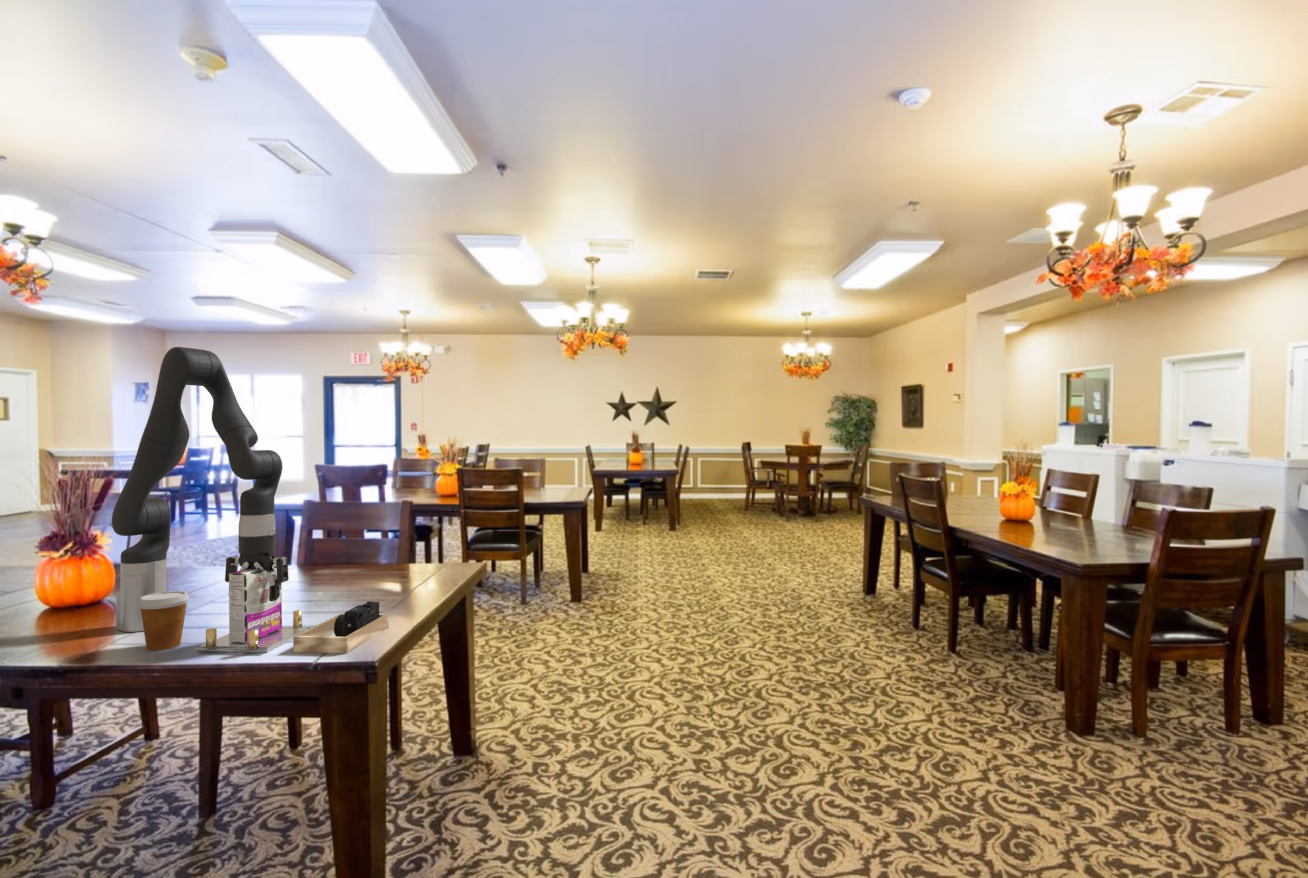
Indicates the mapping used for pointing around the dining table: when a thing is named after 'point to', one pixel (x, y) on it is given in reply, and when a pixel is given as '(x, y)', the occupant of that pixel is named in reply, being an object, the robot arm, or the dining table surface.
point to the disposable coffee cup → (163, 619)
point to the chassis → (254, 639)
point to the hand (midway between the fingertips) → (256, 600)
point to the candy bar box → (252, 606)
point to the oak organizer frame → (322, 643)
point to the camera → (356, 618)
